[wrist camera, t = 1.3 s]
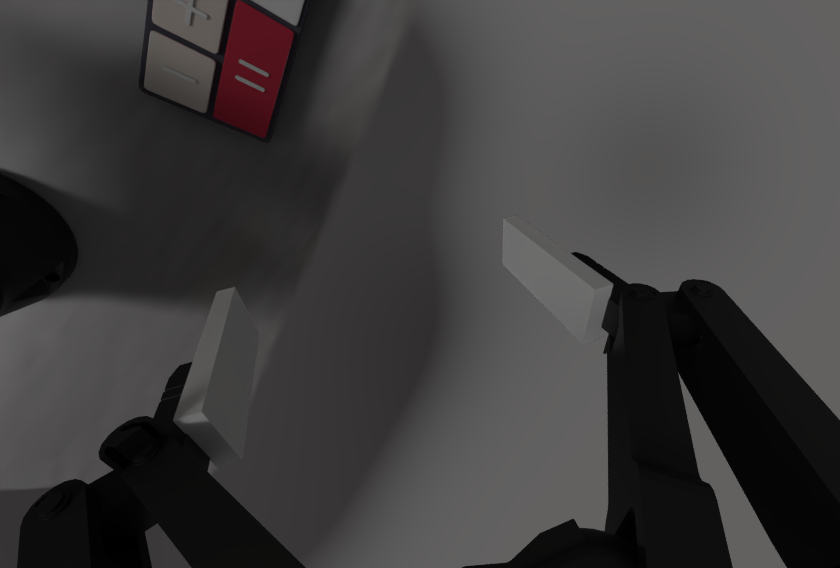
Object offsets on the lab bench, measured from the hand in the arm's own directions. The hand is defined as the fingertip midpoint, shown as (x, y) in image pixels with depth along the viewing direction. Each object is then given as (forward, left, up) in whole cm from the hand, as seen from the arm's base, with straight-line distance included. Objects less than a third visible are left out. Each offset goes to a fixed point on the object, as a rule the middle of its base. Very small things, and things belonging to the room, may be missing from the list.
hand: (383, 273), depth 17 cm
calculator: (-6, +11, -30) cm, 32 cm away
